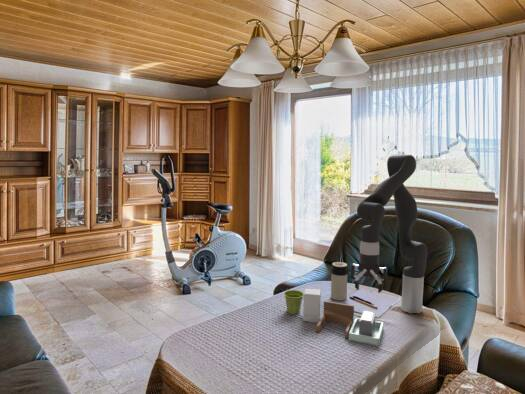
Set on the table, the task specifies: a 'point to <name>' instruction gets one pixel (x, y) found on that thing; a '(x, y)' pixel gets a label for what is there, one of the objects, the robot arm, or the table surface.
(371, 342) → the tray
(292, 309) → the plant pot
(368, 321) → the grey rectangular block
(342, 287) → the travel mug
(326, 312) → the dock
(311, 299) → the supplement box
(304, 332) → the table surface
